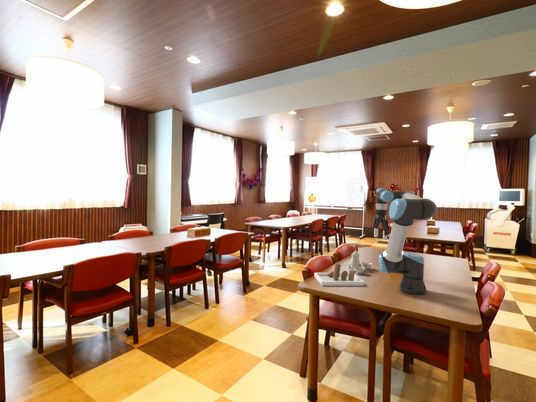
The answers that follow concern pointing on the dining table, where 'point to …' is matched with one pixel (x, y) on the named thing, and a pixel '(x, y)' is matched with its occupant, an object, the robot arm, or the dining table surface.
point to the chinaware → (358, 264)
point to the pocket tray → (329, 280)
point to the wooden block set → (344, 273)
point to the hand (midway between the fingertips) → (380, 238)
